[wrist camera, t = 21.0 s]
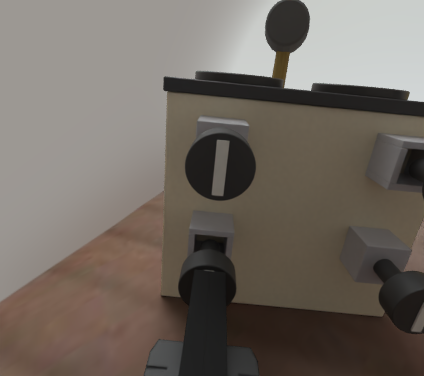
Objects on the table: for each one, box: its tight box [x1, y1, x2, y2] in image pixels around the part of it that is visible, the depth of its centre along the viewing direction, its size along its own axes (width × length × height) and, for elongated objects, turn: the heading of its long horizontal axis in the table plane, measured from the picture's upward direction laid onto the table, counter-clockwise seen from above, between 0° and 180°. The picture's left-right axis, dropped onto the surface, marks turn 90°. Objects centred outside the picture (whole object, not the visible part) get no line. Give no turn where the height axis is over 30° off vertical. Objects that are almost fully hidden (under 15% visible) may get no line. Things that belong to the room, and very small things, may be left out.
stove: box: [161, 71, 424, 334], centre depth 21 cm, size 17×18×17 cm
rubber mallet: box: [265, 0, 310, 88], centre depth 53 cm, size 12×8×30 cm, turn 167°
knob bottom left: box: [178, 239, 237, 306], centre depth 16 cm, size 4×3×3 cm
